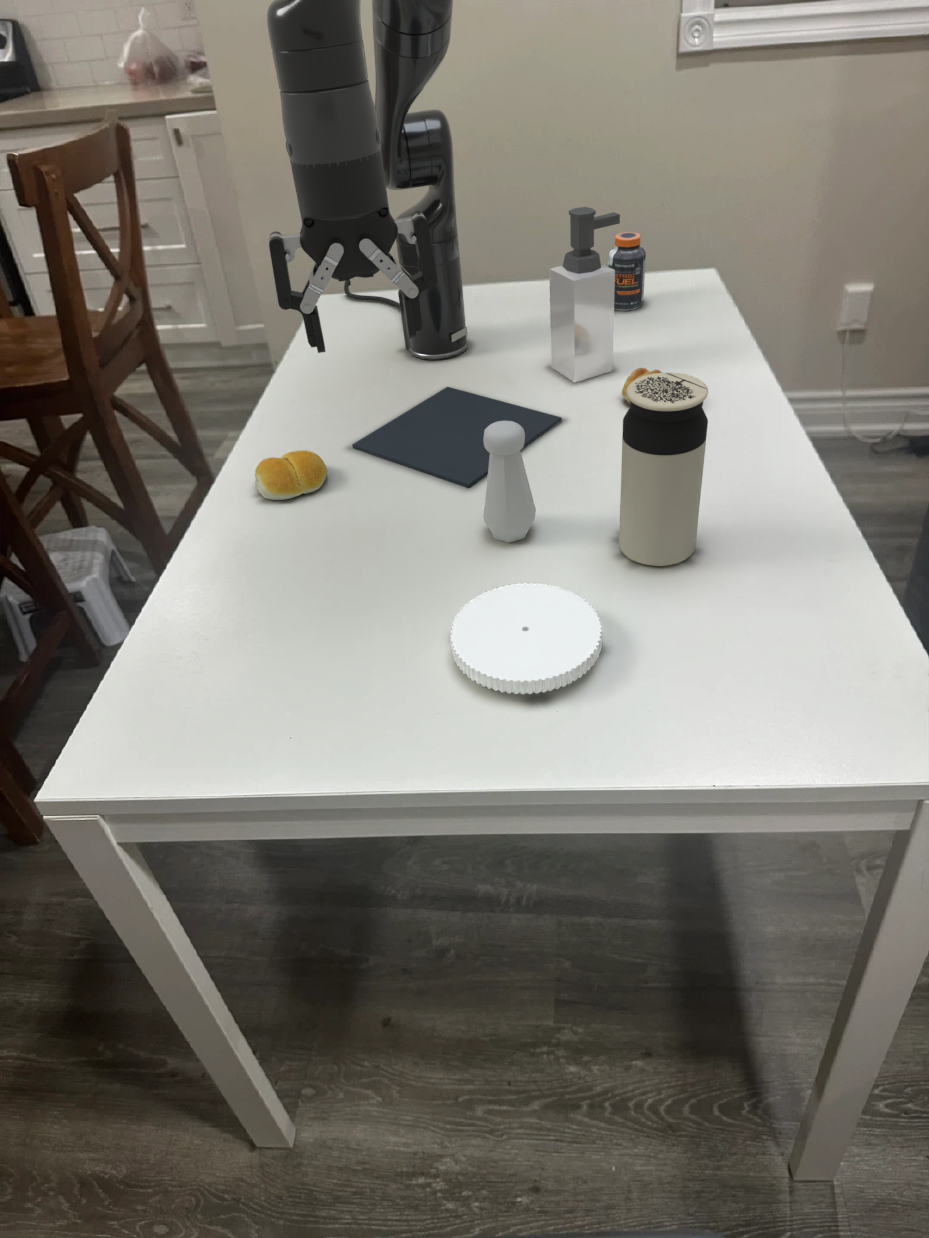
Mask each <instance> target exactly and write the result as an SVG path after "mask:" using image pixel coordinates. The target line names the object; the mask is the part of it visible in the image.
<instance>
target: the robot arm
mask: <svg viewBox="0 0 929 1238" xmlns="http://www.w3.org/2000/svg"><path fill="white" fill-rule="evenodd" d="M371 7H372V8H371V13H372V15H371V17H372V37H373V39H372V40H373V52H374V70H375V71H374V72H375V73H374V74H375V90H374V91H375V93H374V99H373V95H372V90H371V88H370V87H371V86H370V80H369V75H368V68H367V67H368V66H367V60H366V52H365V44H364V39H363V31H362V24H361V23H362V21H361V0H272V2H270V4H269V6H268V8H267V11H266V25H267V32H268V37H269V43H270V48H271V54H272V59H273V64H274V68H275V74H276V79H277V85H278V89H279V90H280V91H279V96H280V103H281V106H280V107H281V117H282V119H281V120H282V127H283V132H284V138H285V149H286V152H287V155H288V157H289V163H290V167H291V173H292V178H293V183H294V184H293V185H294V188H295V193H296V198H297V203H298V204H297V205H298V208H299V213H300V219H301V228H300V232H299V233H298V232H297V233H285V234H282V233H281V232H280V231H272V232H271V233H270V234H269V239H268V248H269V255H270V260H271V266H272V273H273V279H274V286H275V291H276V297H277V303H278V306H279V308H280V309H282V310H284V311H288V310H293V311H294V310H295V311H297V312H299V313H300V314H301V316H302V320H303V325H304V328H305V329H304V330H305V334H306V339H307V343H308V344H309V346H310V347H311V348H316V350H317V353H318V354H321V353H326V344H325V339H324V333H323V328H322V324H321V319H320V313H319V309H318V305H317V303H318V302H319V299H320V297H321V295H322V294H323V293H324V291H325V290H326V288H327V285H328V284H329V283H330V279H331V278H332V279H334V280H337V281H338V282H339V283H340V282H344V286H343V292H344V294H345V295H346V296H347V297H348V298H350V299H353V300H357V301H367V302H380V303H384V304H387V305H390V306H392V307H395V308H396V309H398V310H399V311H400V318H401V324H402V331H403V339H404V347H405V350H406V351H409V353H410V354H411V355H412V356H413V357H416V358H419V359H422V360H443V359H444V360H445V359H448V358H452V357H455V356H458V355H460V354H462V353H464V352H465V351H466V350H467V349H468V347H469V339H468V336H467V335H468V327H467V325H466V323H467V322H466V312H465V311H466V310H465V300H464V288H463V278H462V277H463V276H462V266H461V265H462V264H461V256H460V255H461V254H460V244H459V233H458V222H457V220H458V219H457V205H456V203H457V202H456V191H455V166H454V164H455V163H454V144H453V143H454V142H453V136H452V129H451V125H450V123H449V120H448V118H447V116H446V114H445V113H444V112H443V111H442V110H441V109H426V110H418V111H411V112H409V110H410V109H411V106H412V105H413V104H414V102H415V100H416V99H417V98H418V97H419V95H420V94H421V93H422V91H423V90H424V89H425V87H426V86H427V85H428V83H429V82H430V81H431V80H432V78H433V77H434V75H435V74H436V73H437V71H438V69H439V68H440V66H441V65H442V63H443V61H444V59H445V57H446V55H447V52H448V50H449V47H450V42H451V34H452V20H453V7H454V0H371ZM422 187H428V189H427V191H426V193H425V194H424V196H423V197H422V198H421V199H419V201H417V202H416V203H415V204H414V205H413V206H411V207H409V208H408V209H406V210H404V211H403V212H401V213H399V214H398V215H397V216H396V218H394V217H393V216H392V215H391V212H390V211H391V210H390V206H389V205H390V204H389V198H388V191H387V189H388V190H391V191H402V190H410V189H416V188H422ZM394 244H396V252H397V258H395V256H394V255H392V254H391V250H392V248H393V246H394ZM299 248H301V249H302V250H303V252H304V253H305V254H307V256H308V257H310V258H311V260H312V261H313V262H314V264H313V266H312V268H311V270H310V272H309V274H308V278H307V280H306V282H305V284H304V286H303V288H302V291H297V290H292V286H291V285H292V284H291V279H290V273H289V272H290V271H289V265H288V263H291V262H293V261H294V259H295V255H296V251H297V250H298V249H299ZM397 259H398V260H397ZM379 271H381V273H383V275H385V276H386V278H387V279H388V280H390V281H391V283H393V284H394V285H396V287H398V288H399V289H398V291H397V295H398V296H397V297H398V301H396V300H393V299H390V298H387V297H384V296H378V295H363V294H355V293H352V292H350V289H349V288H350V286H351V284H352V283H351V280H352V279H354V278H363V279H364V278H365V279H367V278H374V277H375V275H376V274H377V273H379Z"/></svg>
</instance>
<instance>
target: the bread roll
mask: <svg viewBox="0 0 929 1238" xmlns="http://www.w3.org/2000/svg"><path fill="white" fill-rule="evenodd" d="M254 471H255V473H254V478H255V481H254V484H255V487H256V489H257V491H258V493H259V494H260V495H261V496H262V497H263V498H265V499H267V500H272V501H273V500H276V501H279V500H281V501H283V500H284V501H285V500H289V499H293V498H296V497H299V496H301V495H302V494H303V495H304V494H305V495H306V494H311V493H313V492H316V491H317V490H319V489H320V488H321V487H322V486H323V484H324V482H325V480H326V478H327V475H328V467H327V465H326V462H325V461H324V460H323V458H322V457H321V456H320V455H318V454H317V453H316V452H314V451H310V450H295V451H289V452H287V453H285V454H284V455H282V456H281V457H267V458H264V459H263V460H261V461H259V463H258V464H257V465H256V467H255V470H254Z"/></svg>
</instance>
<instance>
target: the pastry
mask: <svg viewBox="0 0 929 1238" xmlns="http://www.w3.org/2000/svg"><path fill="white" fill-rule="evenodd" d="M655 373H663V372H662V371H661V370H659V369H653V370H649V369H647V367H639V368H636V369H634V370H632V371H631V373H630V375H628V377H627V378H626V380H625V382H624V384H623V387H622V389H621V395H622V397H624V399H625V400H626V402H628V404H630V400H629V398H628V397H627V393H626V391H627V387H628V386H629V384H630V383H631V382H633V381H634V380H636V379H638V378H640V377H642V376H645V375H649V374H655Z"/></svg>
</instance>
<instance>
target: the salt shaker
mask: <svg viewBox="0 0 929 1238" xmlns="http://www.w3.org/2000/svg"><path fill="white" fill-rule="evenodd" d="M483 441H484V447H485V449H486V450H487V451H488V452H489V453H490V457H489V468H488V474H487V479H486V488H485V489H486V490H485V499H484V507H483V515H482V518H483V522H484V523H485V525H486V526H487V527H488V529H489V531H490V533H491V534H492V536H493V539H494V540H497V541H502V542H504V543H513V542H517V541H521V540H524V539H526V536H527V534H528V532H529V531H530V529H531V527H532V526H533V524H534V523H535V518H536V513H537V508H536V505H535V501H534V498H533V494H532V490H531V489H532V488H531V486H530V482H529V477H528V474H527V470H526V467H525V463H524V459H523V455H522V450H523V449H524V448H523V446H524V442H525V433H524V429H523V428H522V427H521V426H520V425H519V424H518V423H515V422H513V421H497V422H495V423H492V424H490V425H489V426H488V427H487V428H486V429H485V431H484V438H483ZM522 448H523V449H522ZM521 449H522V450H521Z"/></svg>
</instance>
